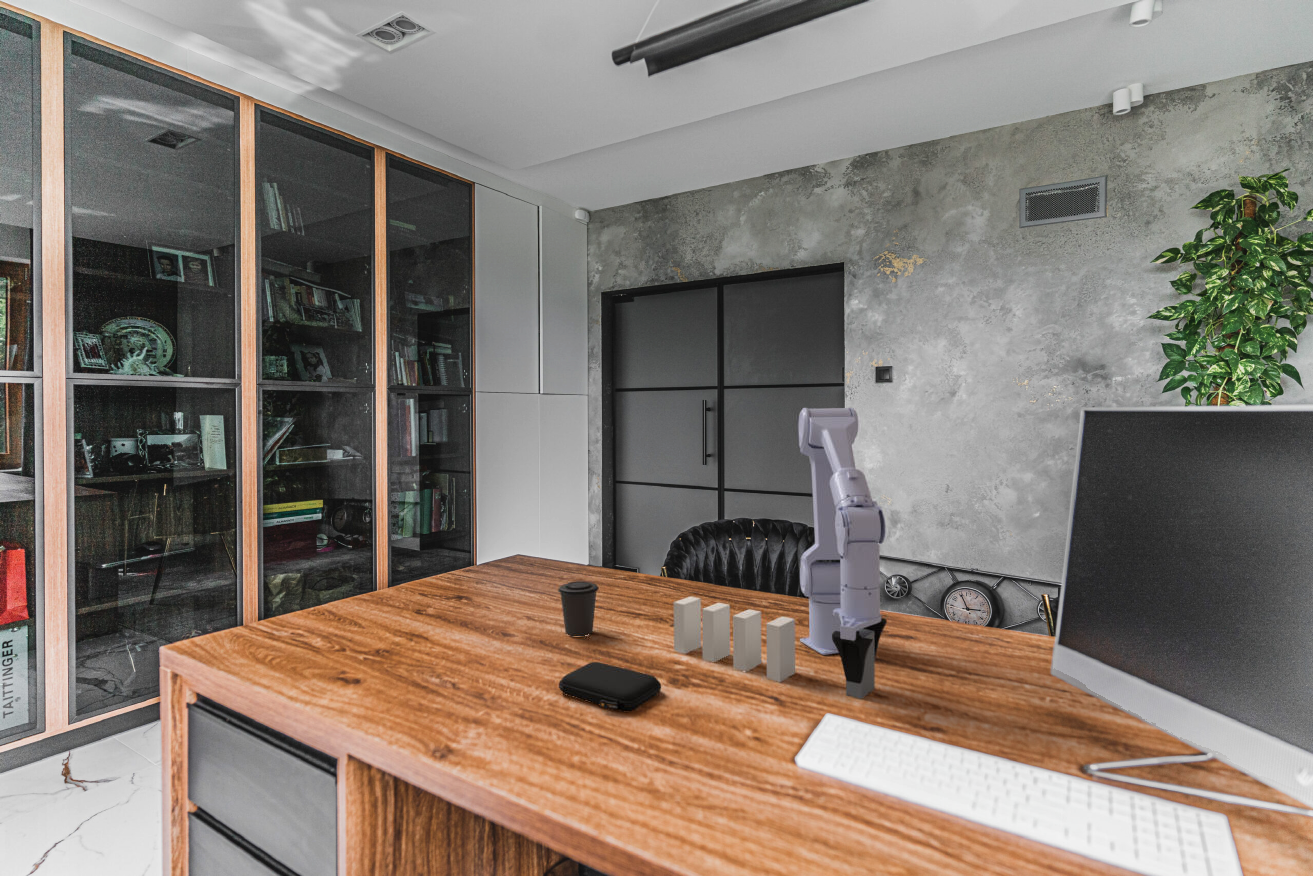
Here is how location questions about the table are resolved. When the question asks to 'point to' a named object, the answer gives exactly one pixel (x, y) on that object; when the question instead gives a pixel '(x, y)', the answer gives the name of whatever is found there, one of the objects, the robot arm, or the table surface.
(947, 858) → the table surface
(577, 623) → the coffee cup
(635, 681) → the carrying case or bag
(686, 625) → the domino
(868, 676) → the domino
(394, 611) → the table surface
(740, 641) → the domino
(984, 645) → the table surface
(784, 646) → the domino
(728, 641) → the domino
